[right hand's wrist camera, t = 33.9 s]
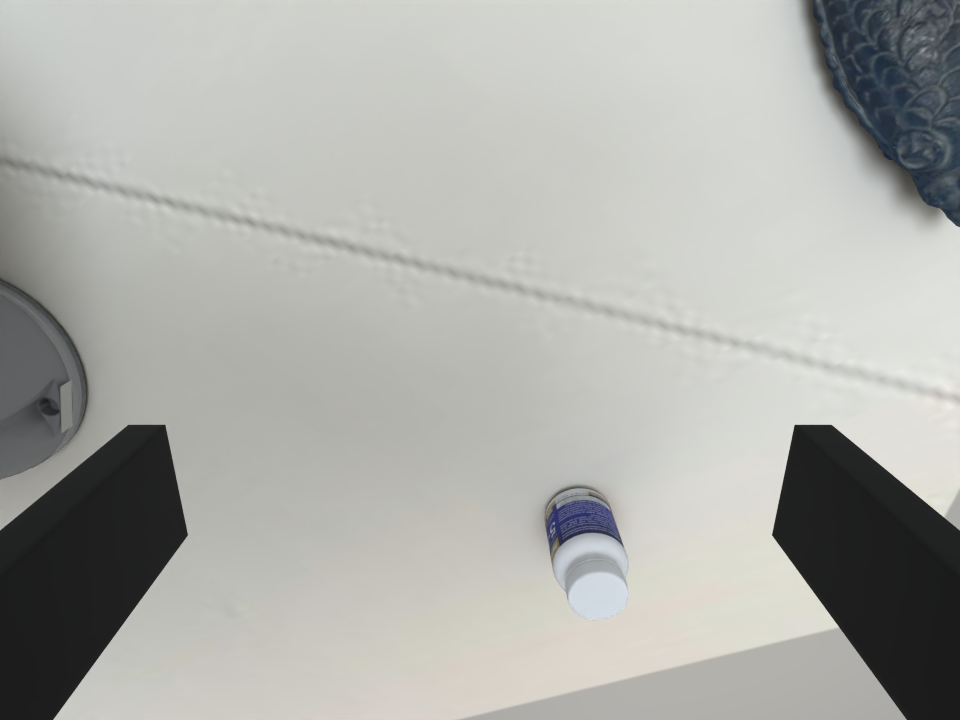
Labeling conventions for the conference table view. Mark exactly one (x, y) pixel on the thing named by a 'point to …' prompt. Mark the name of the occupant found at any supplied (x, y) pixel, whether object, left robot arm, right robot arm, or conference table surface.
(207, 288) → the conference table surface
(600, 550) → the pill bottle
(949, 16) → the fish model
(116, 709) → the conference table surface
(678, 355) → the conference table surface
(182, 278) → the conference table surface
